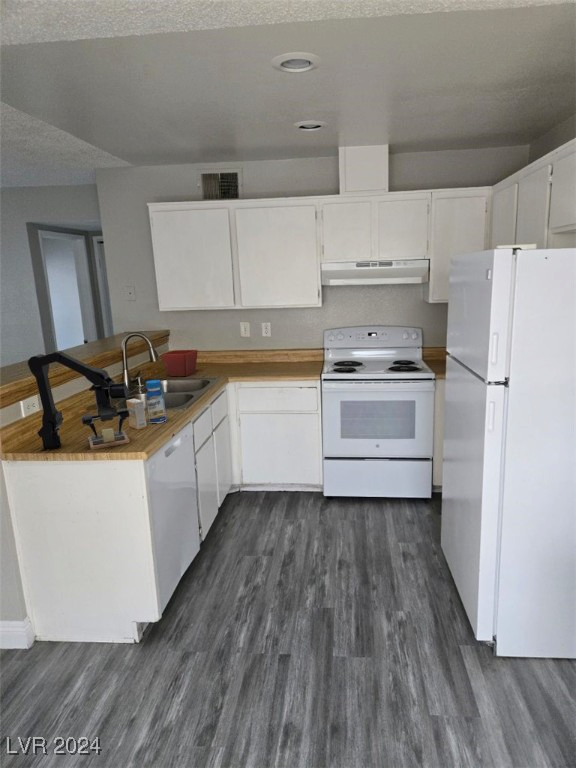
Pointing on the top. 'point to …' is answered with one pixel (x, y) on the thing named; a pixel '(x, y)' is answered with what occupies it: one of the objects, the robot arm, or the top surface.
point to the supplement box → (136, 413)
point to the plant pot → (180, 362)
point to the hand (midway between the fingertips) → (108, 435)
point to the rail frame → (108, 443)
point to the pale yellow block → (108, 435)
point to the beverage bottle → (155, 402)
